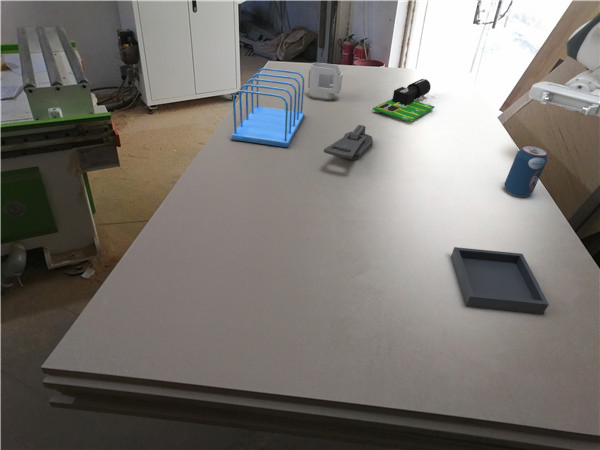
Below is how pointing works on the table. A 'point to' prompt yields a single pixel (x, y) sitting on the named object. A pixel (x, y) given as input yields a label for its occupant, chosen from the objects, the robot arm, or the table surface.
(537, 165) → the soda can
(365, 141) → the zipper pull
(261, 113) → the file sorter
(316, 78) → the cable organizer
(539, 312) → the tray
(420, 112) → the circuit board with cylinder
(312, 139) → the table surface
